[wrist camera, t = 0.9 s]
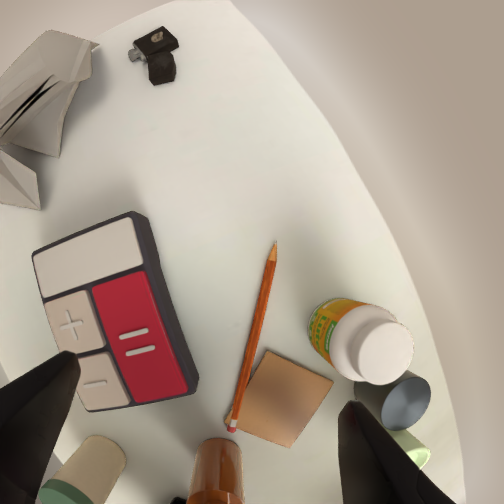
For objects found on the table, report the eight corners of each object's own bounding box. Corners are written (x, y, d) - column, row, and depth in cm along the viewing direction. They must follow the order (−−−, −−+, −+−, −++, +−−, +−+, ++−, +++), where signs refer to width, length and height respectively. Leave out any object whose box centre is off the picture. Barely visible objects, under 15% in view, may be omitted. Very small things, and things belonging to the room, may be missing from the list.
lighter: (196, 55, 24) (150, 81, 23) (198, 67, 26) (155, 92, 25) (161, 21, 24) (121, 44, 24) (164, 33, 26) (125, 54, 26)
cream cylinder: (119, 478, 22) (87, 537, 12) (79, 453, 22) (36, 504, 12) (133, 452, 23) (98, 515, 12) (90, 425, 23) (40, 477, 12)
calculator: (83, 417, 19) (24, 252, 19) (100, 398, 24) (50, 253, 24) (197, 397, 20) (132, 206, 20) (201, 376, 25) (147, 215, 25)
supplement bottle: (301, 304, 25) (341, 322, 15) (358, 291, 25) (419, 299, 16) (311, 362, 25) (350, 407, 15) (366, 347, 25) (424, 379, 15)
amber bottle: (229, 476, 23) (229, 552, 12) (189, 459, 23) (172, 535, 12) (250, 448, 24) (258, 526, 13) (208, 431, 24) (197, 508, 13)
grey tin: (381, 410, 25) (409, 436, 19) (344, 396, 25) (369, 423, 19) (406, 368, 25) (440, 386, 19) (370, 351, 25) (402, 369, 19)
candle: (381, 449, 24) (416, 489, 16) (342, 450, 24) (372, 495, 16) (398, 411, 25) (441, 445, 17) (359, 409, 25) (397, 449, 16)
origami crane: (50, 47, 25) (6, -14, 11) (134, 47, 26) (103, -41, 12) (-28, 222, 23) (-109, 204, 9) (46, 256, 24) (-59, 246, 10)
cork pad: (288, 446, 24) (289, 448, 24) (224, 420, 24) (223, 422, 23) (333, 380, 25) (334, 382, 24) (267, 350, 25) (267, 351, 24)
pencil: (226, 428, 24) (226, 431, 23) (271, 239, 25) (272, 239, 25) (235, 429, 24) (235, 433, 23) (280, 242, 25) (281, 241, 25)
